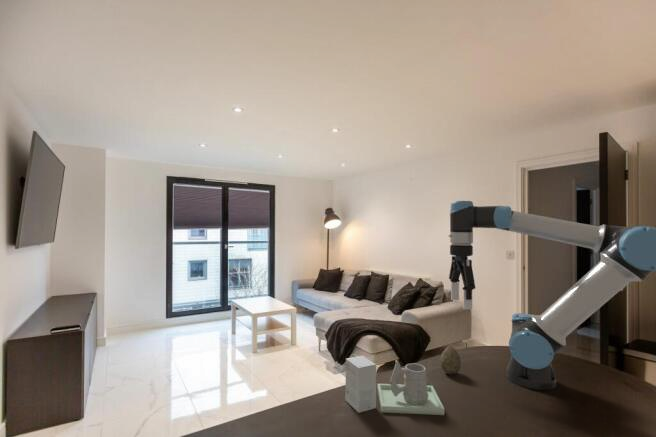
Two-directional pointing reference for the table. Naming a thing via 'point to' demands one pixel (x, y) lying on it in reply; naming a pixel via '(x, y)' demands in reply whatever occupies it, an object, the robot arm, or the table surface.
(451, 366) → the decorative egg
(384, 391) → the tray
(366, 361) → the small box
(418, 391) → the mug
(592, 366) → the table surface
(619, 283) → the robot arm
